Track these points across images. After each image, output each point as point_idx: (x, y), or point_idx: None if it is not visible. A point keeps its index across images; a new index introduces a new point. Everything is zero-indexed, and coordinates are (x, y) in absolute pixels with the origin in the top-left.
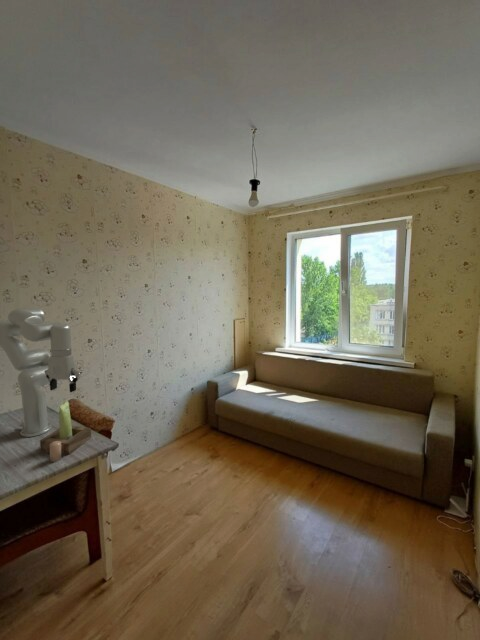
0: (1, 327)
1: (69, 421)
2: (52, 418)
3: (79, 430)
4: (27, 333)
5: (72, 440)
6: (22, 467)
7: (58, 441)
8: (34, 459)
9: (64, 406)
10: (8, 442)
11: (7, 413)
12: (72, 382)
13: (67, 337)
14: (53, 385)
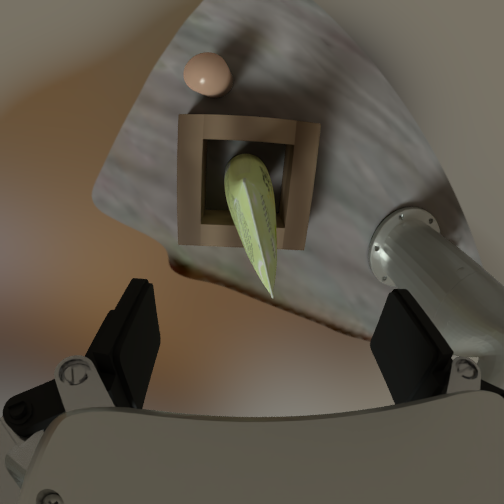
0: None
1: (227, 203)
2: None
3: (215, 223)
4: None
5: (179, 138)
6: (295, 33)
7: (203, 88)
8: (292, 74)
9: (253, 232)
10: (439, 174)
11: None
12: (69, 370)
13: None
14: (400, 340)
